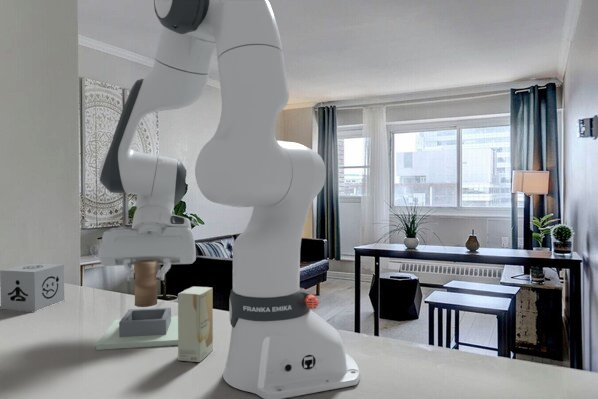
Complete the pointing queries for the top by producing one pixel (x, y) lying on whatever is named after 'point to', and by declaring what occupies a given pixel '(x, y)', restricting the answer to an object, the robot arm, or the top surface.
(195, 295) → the skincare box
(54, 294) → the icon cube
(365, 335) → the top surface
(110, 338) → the collar holder
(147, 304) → the brown dome-topped peg
